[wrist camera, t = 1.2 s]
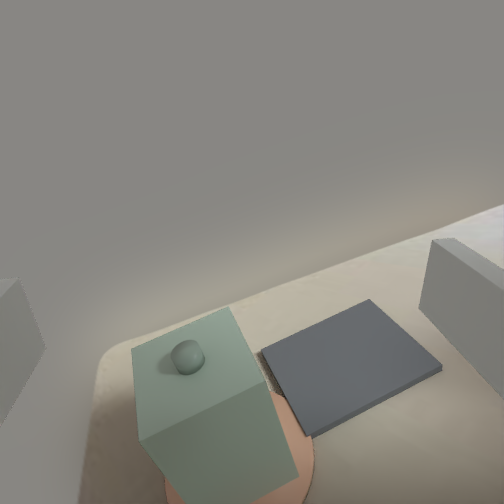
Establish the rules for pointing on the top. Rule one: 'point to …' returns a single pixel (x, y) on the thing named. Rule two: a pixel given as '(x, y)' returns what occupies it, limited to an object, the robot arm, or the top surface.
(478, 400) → the top surface
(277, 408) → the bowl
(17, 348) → the robot arm
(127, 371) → the top surface
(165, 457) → the cover
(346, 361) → the mat
